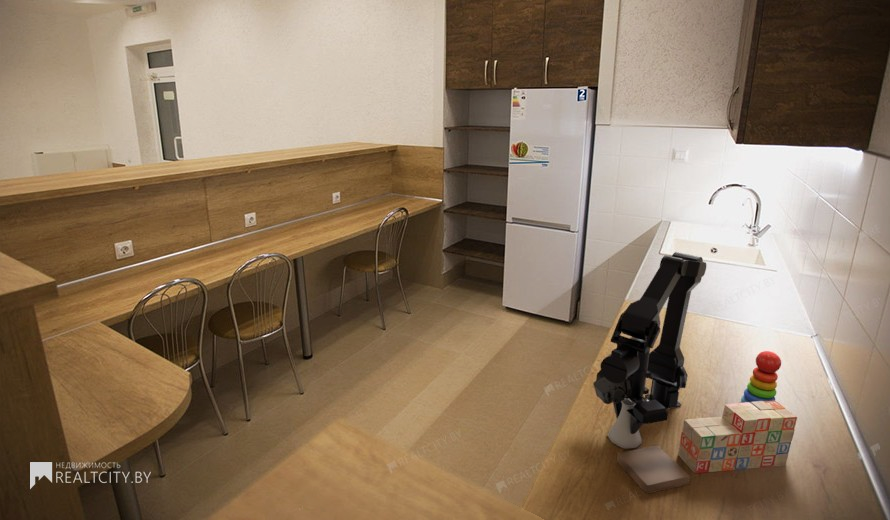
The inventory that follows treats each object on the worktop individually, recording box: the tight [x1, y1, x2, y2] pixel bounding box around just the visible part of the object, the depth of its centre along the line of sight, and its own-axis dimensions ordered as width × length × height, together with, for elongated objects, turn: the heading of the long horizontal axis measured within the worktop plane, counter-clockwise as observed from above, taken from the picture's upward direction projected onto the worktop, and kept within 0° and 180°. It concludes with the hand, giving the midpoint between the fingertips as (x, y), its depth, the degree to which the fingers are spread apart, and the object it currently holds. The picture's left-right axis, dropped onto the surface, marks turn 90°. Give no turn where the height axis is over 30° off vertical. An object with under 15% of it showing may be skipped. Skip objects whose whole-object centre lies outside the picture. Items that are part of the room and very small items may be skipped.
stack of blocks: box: [677, 400, 798, 474], centre depth 108 cm, size 21×6×12 cm, turn 98°
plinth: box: [616, 445, 691, 494], centre depth 106 cm, size 10×10×2 cm
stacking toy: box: [739, 350, 782, 403], centre depth 121 cm, size 8×8×19 cm
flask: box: [606, 398, 643, 450], centre depth 115 cm, size 7×7×10 cm
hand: (626, 426), depth 115 cm, fingers closed on flask, 5 cm apart
